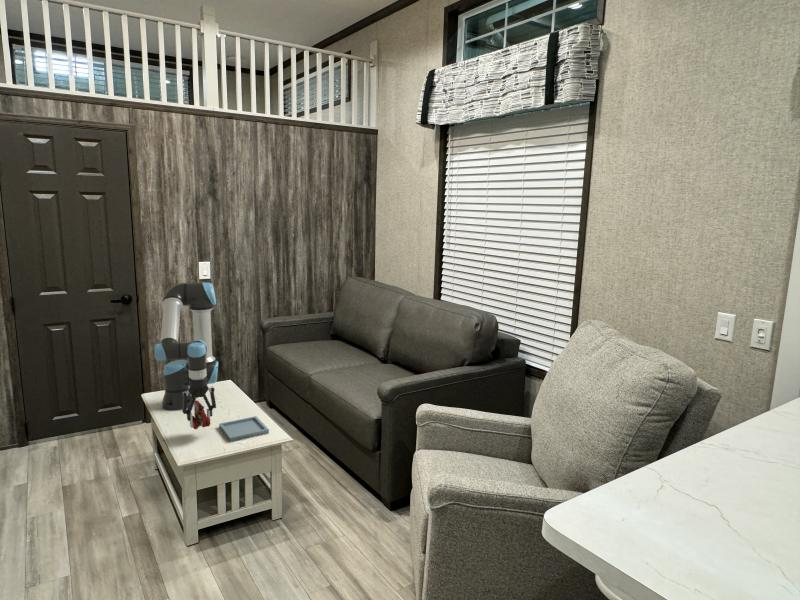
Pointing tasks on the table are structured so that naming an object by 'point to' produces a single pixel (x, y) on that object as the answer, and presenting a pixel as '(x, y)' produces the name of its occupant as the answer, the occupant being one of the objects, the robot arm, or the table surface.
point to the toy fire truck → (199, 416)
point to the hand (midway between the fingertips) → (200, 424)
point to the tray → (243, 428)
